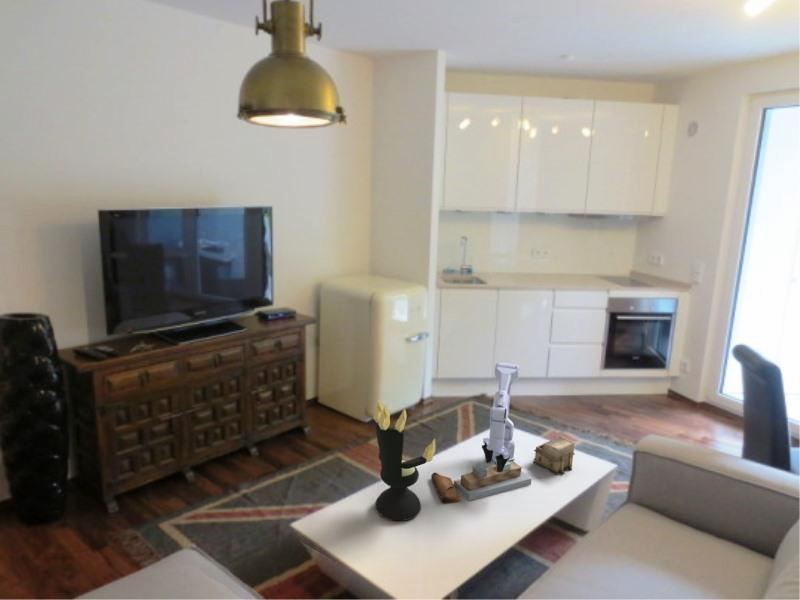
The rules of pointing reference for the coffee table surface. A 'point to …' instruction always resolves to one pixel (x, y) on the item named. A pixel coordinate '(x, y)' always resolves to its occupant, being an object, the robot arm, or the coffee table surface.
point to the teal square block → (506, 466)
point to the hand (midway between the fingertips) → (494, 466)
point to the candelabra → (397, 468)
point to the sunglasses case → (445, 489)
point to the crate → (479, 471)
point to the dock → (493, 487)
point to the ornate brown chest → (555, 455)
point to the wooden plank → (490, 477)
